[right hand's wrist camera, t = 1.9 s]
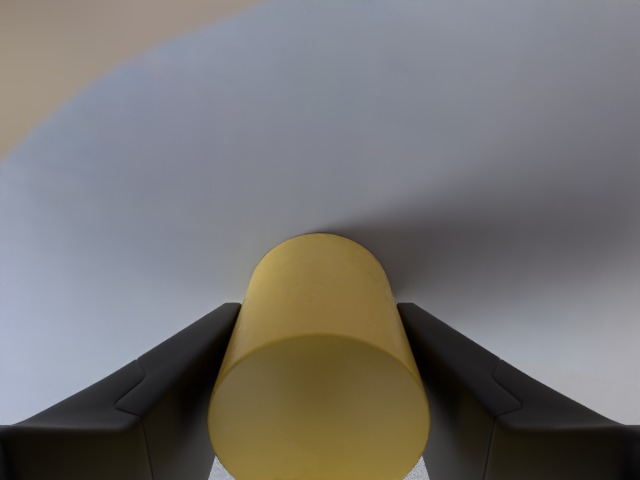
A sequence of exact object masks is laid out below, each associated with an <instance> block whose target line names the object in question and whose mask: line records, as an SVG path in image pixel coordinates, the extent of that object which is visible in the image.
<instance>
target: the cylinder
mask: <svg viewBox="0 0 640 480" xmlns="http://www.w3.org/2000/svg"><path fill="white" fill-rule="evenodd" d="M430 427H431V412H430V406H429V401H428V398H427V395H426V392H425V389H424V386H423V383H422V380H421V377H420V374H419V371H418V368H417V365H416V362H415V359H414V356H413V354H412V351H411V348H410V345H409V342H408V339H407V336H406V333H405V330H404V327H403V324H402V321H401V318H400V315H399V312H398V309H397V306H396V303H395V300H394V297H393V294H392V291H391V288H390V285H389V282H388V279H387V276H386V274H385V272H384V270H383V268H382V266H381V265H380V263H379V262H378V260H377V259H376V258H375V257H374V256H373V255H372V254H371V253H370V252H369V251H368V250H367V249H365V248H364V247H363V246H361V245H359V244H358V243H356V242H354V241H352V240H350V239H347V238H345V237H341V236H338V235H332V234H324V233H315V234H306V235H301V236H297V237H294V238H291V239H288V240H286V241H284V242H282V243H280V244H279V245H277V246H276V247H274V248H273V249H272V250H271V251H269V252H268V253H267V254H266V255H265V256H264V257H263V259H262V260H261V261H260V262H259V264H258V265H257V267H256V268H255V270H254V273H253V275H252V277H251V280H250V283H249V286H248V289H247V292H246V295H245V298H244V301H243V303H242V306H241V309H240V312H239V315H238V318H237V321H236V324H235V327H234V330H233V333H232V336H231V338H230V341H229V344H228V347H227V350H226V353H225V356H224V359H223V362H222V365H221V368H220V370H219V373H218V376H217V379H216V382H215V385H214V388H213V391H212V394H211V397H210V401H209V404H208V411H207V430H208V434H209V438H210V442H211V445H212V447H213V450H214V452H215V454H216V456H217V458H218V459H219V461H220V463H221V464H222V465H223V467H224V468H225V469H226V470H227V472H228V473H229V474H230V475H231V476H232V477H234V478H235V479H236V480H402V479H403V478H405V476H406V475H407V474H408V473H409V472H410V471H411V470H412V469H413V468H414V466H415V465H416V464H417V462H418V461H419V459H420V457H421V456H422V454H423V452H424V450H425V447H426V444H427V441H428V438H429V433H430Z"/></svg>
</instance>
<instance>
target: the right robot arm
mask: <svg viewBox="0 0 640 480" xmlns="http://www.w3.org/2000/svg"><path fill="white" fill-rule="evenodd" d="M241 306H242V305H241V304H240V303H225V304H223V305H221V306H220V307H218V308H217V309H215V310H213V311H212V312H210V313H209V314H207V315H205V316H204V317H202V318H201V319H199V320H198V321H196V322H194V323H193V324H191V325H190V326H188V327H186V328H185V329H183V330H182V331H180V332H178V333H177V334H175V335H174V336H172V337H170V338H169V339H167V340H166V341H164V342H162V343H161V344H159V345H158V346H156V347H154V348H153V349H151V350H150V351H148V352H146V353H145V354H143V355H142V356H140V357H139V358H137V360H134V361H132V362H130V363H129V364H127V365H126V366H124V367H122V368H121V369H119V370H117V371H116V372H114V373H112V374H111V375H109V376H107V377H106V378H104V379H102V380H100V381H98V382H97V383H95V384H93V385H91V386H89V387H87V388H86V389H84V390H82V391H80V392H78V393H76V394H74V395H72V396H70V397H69V398H67V399H65V400H63V401H61V402H59V403H57V404H55V405H53V406H51V407H50V408H48V409H46V410H44V411H42V412H40V413H38V414H36V415H34V416H32V417H30V418H28V419H26V420H24V421H21V422H19V423H16V424H13V425H0V480H208V478H209V475H210V471H211V468H212V465H213V462H214V458H215V455H216V454H215V452H214V450H213V447H212V445H211V442H210V438H209V434H208V430H207V411H208V404H209V401H210V397H211V394H212V391H213V388H214V385H215V382H216V379H217V376H218V373H219V370H220V368H221V365H222V362H223V359H224V356H225V353H226V350H227V347H228V344H229V341H230V338H231V336H232V333H233V330H234V327H235V324H236V321H237V318H238V315H239V312H240V309H241ZM396 306H397V309H398V312H399V315H400V318H401V321H402V324H403V327H404V330H405V333H406V336H407V339H408V342H409V345H410V348H411V351H412V354H413V356H414V359H415V362H416V365H417V368H418V371H419V374H420V377H421V380H422V383H423V386H424V389H425V392H426V395H427V398H428V401H429V406H430V412H431V427H430V433H429V438H428V441H427V444H426V447H425V450H424V452H423V454H422V456H423V459H424V462H425V466H426V469H427V472H428V476H429V479H430V480H640V425H624V424H621V423H618V422H615V421H613V420H610V419H608V418H606V417H604V416H602V415H600V414H598V413H597V412H595V411H593V410H591V409H589V408H587V407H585V406H583V405H582V404H580V403H578V402H576V401H574V400H572V399H570V398H568V397H566V396H565V395H563V394H561V393H559V392H557V391H555V390H553V389H551V388H550V387H548V386H546V385H544V384H542V383H541V382H539V381H537V380H535V379H533V378H531V377H530V376H528V375H526V374H525V373H523V372H521V371H520V370H518V369H517V368H515V367H513V366H512V365H510V364H509V363H507V362H505V361H504V360H500V358H499V357H497V356H496V355H494V354H493V353H491V352H489V351H488V350H486V349H485V348H483V347H482V346H480V345H478V344H477V343H475V342H474V341H472V340H470V339H469V338H467V337H466V336H464V335H463V334H461V333H459V332H458V331H456V330H455V329H453V328H452V327H450V326H448V325H447V324H445V323H444V322H442V321H440V320H439V319H437V318H436V317H434V316H433V315H431V314H429V313H428V312H426V311H425V310H423V309H421V308H420V307H418V306H417V305H415V304H414V303H398V304H397V305H396Z"/></svg>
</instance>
